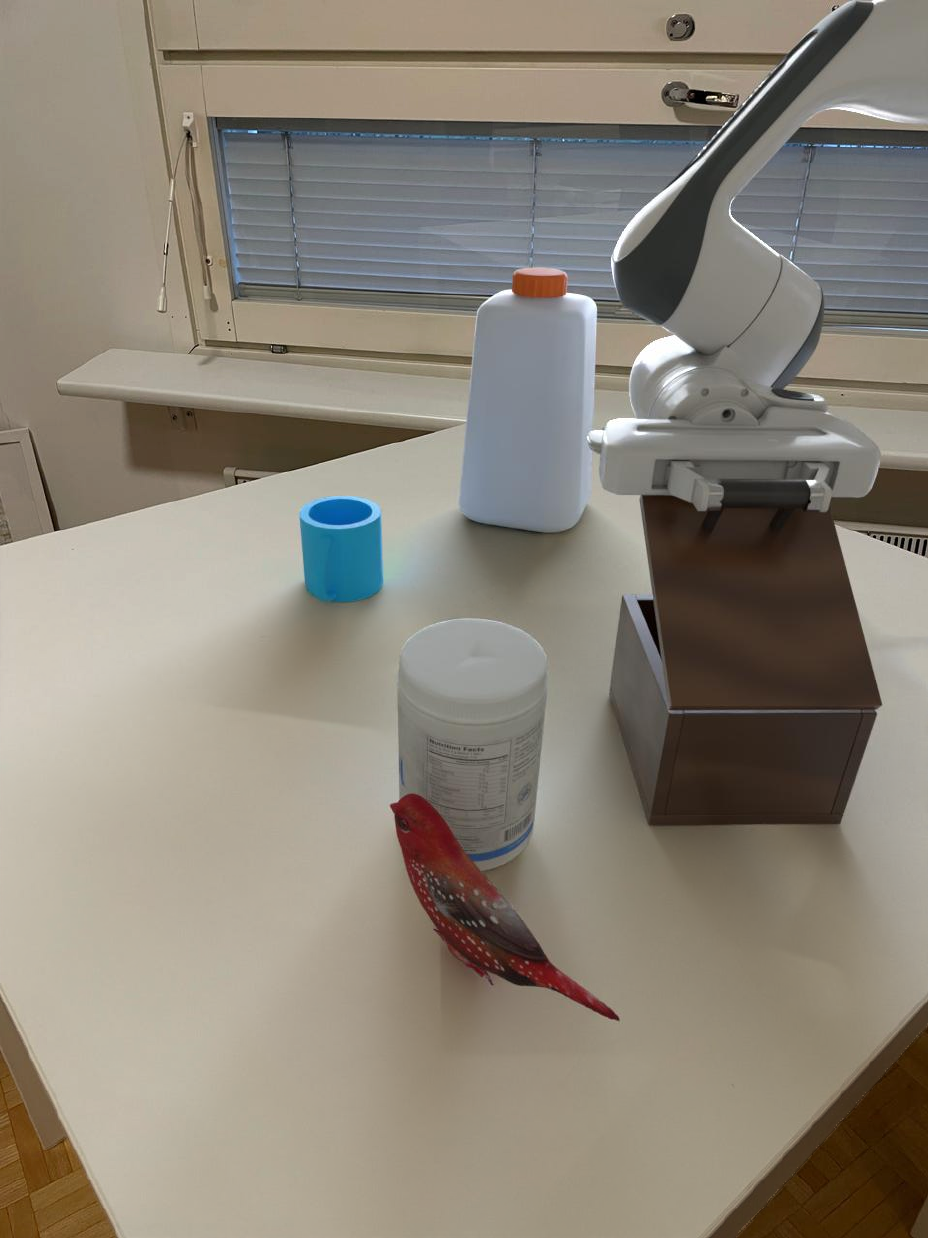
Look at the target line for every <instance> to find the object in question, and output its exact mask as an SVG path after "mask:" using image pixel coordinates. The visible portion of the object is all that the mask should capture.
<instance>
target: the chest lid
mask: <svg viewBox="0 0 928 1238" xmlns="http://www.w3.org/2000/svg"><path fill="white" fill-rule="evenodd" d="M717 480H718V481H719V483H720V485H722V486H723V489H724V496H723V499H722V500H721V501H720V502H721V504H722V506H721V510H720V511H697V509H696V507H695V506H694V504H693V503H690V502H688V501H685V500H683V499H680V498H678V497H675V496H665V495H639V496H640V497H639V507H640V514H641V515H640V516H641V521H642V522H641V523H642V529H643V536H644V542H645V549H646V557H647V564H648V565H647V566H648V572H649V579H650V586H651V592H652V593H651V594H653V601H654V608H655V615H656V622H657V630H658V637H659V644H660V651H661V658H662V665H663V673H664V680H665V687H666V694H667V701H668V708H669V710H875V711H876V710H879V709H880V708H881V707H882V706H883V701H882V697H881V694H880V693H881V692H880V690H879V686H878V682H877V679H876V675H875V671H874V667H873V663H872V660H871V655H870V653H869V649H868V644H867V642H866V637H865V634H864V630H863V626H862V622H861V618H860V615H859V610H858V607H857V603H856V599H855V596H854V591H853V588H852V584H851V581H850V577H849V574H848V569H847V566H846V561H845V558H844V554H843V551H842V546H841V543H840V539H839V536H838V532H837V531H838V530H837V528H836V527H837V526H836V524H835V520H834V517H833V513H832V509H831V505H830V504H829V508H828V511H827V512H804V511H803V508H804V507H805V506H806V504H807V502H808V499H809V498H808V497H809V486H808V483H807V481H806V480H804V479H717Z"/></svg>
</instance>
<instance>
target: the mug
mask: <svg viewBox="0 0 928 1238" xmlns="http://www.w3.org/2000/svg"><path fill="white" fill-rule="evenodd" d="M298 515H299V529H300V538H301V553H302V564H303V577H304V586H305V590H306V591H307V592H308V593H309V595H311V596H312V597H314V598H316V599H317V600H319V601H321V602H323V603H328V602H330V603H350V602H357V601H360V600H364V599H365V600H366V599H368V598H370V597H372V596H373V595H375V594H377V593H378V592H379V591H380V590H381V589H382V587H383V583H384V567H383V566H384V565H383V563H384V562H383V531H382V530H383V529H382V509H381V507H380V505H379V504H377V503H376V502H375V501H374V500H370V499H368V498H364V497H360V496H354V495H332V496H326V497H321V498H316V499H314V500H312V501H309V502H307V503H306V504H305V505H303V506H302V507H301V508H300V510H299V513H298Z"/></svg>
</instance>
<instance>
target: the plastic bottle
mask: <svg viewBox="0 0 928 1238" xmlns="http://www.w3.org/2000/svg"><path fill="white" fill-rule="evenodd" d="M568 277H569V275H567V273H566V272H565V271H564V270H561V269H557V268H550V267H523V268H522V267H521V268H518V269H516V270H515V271H514V272H513V273H512V281H511V282H512V283H511V289H505V290H501V291H499V292H498V293H496V294H494V295H492V296H491V297H489V298H488V299H487V300H485V301H484V302H483V303H481V304H480V306H479V307H478V308H477V311H476V318H475V327H474V336H473V337H474V338H473V348H472V356H471V357H472V358H471V370H470V378H469V388H468V398H467V399H468V400H467V410H466V419H465V420H466V421H465V430H464V442H463V452H462V463H461V471H460V472H461V473H460V483H459V492H458V507H459V510H460V511H461V513H462V514H463V515H464V516H465V517H466V518H467V519H469V520H471V521H474V522H476V523H479V524H484V525H492V526H497V527H502V528H503V527H504V528H511V529H518V530H525V531H532V532H536V533H545V534H546V533H548V534H551V533H553V534H554V533H560V532H564V531H567V530H570V529H572V528H573V527H574V526H576V525H577V523H579V521H580V520H581V517H582V515H583V513H584V512H585V508H586V506H587V505H588V503H589V501H590V498H591V495H592V475H593V451H592V450H591V449H590V448H589V445H588V443H587V436H588V433H589V432H590V431H594V415H595V414H594V413H595V411H594V410H595V384H596V382H595V381H596V353H597V352H596V351H597V350H596V349H597V346H596V345H597V324H598V323H597V320H598V319H597V318H598V307H597V304H596V302H595V300H593V299H592V298H591V297H589V296H587V295H583V294H577V293H572V292H571V293H570V292H567V290H568V279H569V278H568Z"/></svg>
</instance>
